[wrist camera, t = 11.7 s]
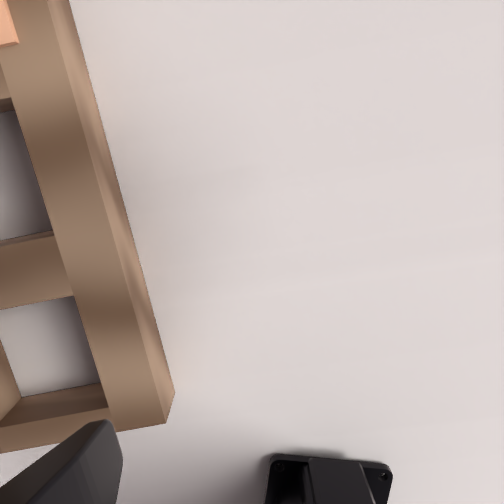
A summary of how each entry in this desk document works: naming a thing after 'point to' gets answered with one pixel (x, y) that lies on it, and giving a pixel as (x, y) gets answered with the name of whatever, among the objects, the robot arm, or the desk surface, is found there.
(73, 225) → the walnut hole board
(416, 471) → the desk surface
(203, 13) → the desk surface
